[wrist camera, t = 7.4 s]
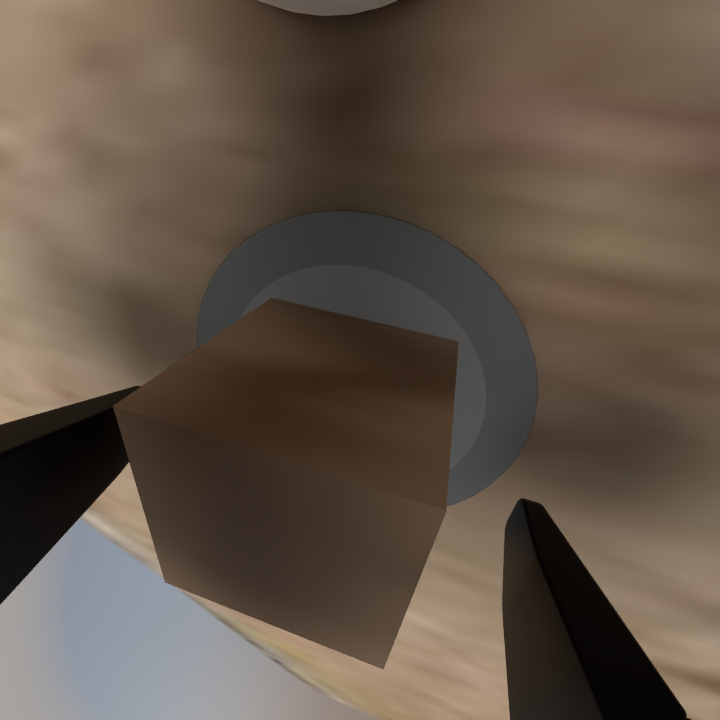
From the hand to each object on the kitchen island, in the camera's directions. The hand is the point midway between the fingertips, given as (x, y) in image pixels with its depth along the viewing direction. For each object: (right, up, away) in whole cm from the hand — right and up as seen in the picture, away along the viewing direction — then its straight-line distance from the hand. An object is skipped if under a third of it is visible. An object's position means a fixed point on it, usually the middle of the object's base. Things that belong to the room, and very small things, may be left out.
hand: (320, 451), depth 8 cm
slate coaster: (+1, +1, +2) cm, 2 cm away
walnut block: (+1, +1, +2) cm, 2 cm away
